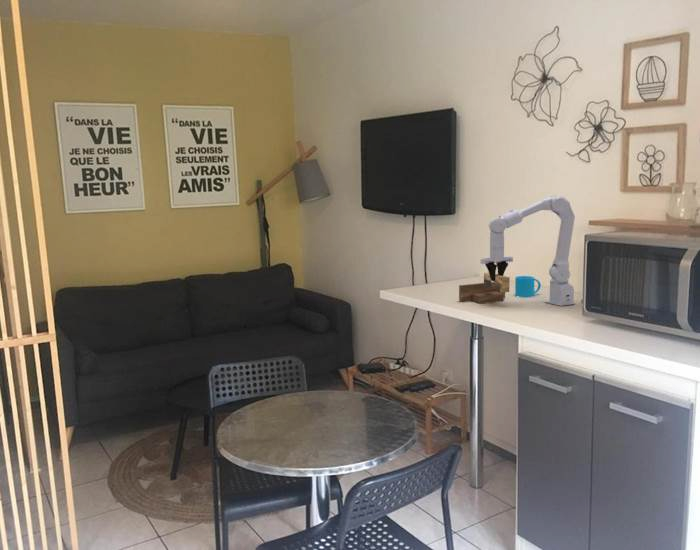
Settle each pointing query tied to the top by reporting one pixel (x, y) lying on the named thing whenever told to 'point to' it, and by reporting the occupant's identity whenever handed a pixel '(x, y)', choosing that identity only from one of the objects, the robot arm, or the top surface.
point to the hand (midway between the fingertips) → (496, 280)
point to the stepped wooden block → (480, 293)
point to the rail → (500, 279)
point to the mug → (525, 286)
